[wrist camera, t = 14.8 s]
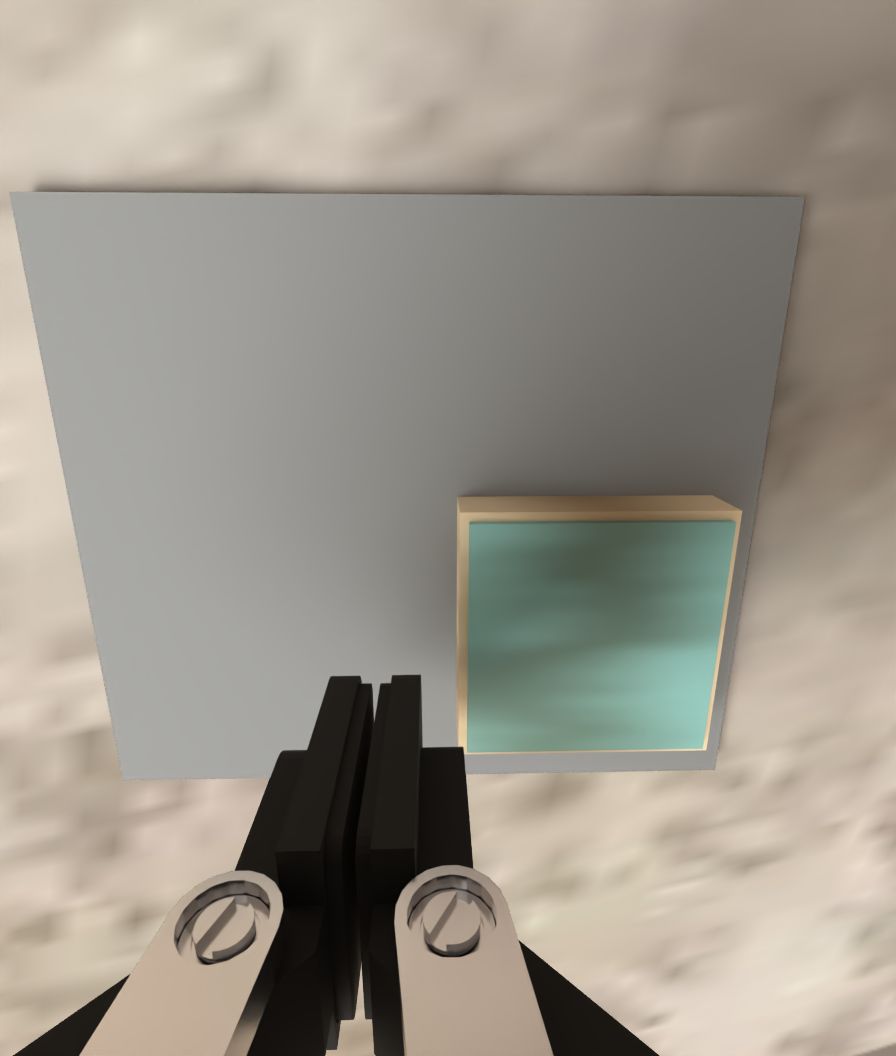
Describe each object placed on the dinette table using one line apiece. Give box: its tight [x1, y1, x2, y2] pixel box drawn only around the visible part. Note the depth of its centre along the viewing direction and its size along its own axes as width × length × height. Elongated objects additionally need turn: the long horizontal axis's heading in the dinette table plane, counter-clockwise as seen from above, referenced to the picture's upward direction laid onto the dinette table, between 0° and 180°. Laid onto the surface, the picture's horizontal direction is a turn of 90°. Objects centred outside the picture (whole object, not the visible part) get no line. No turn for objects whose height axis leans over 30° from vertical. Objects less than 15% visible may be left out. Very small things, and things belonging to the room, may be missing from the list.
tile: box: [456, 495, 742, 754], centre depth 14 cm, size 6×2×6 cm
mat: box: [9, 192, 805, 781], centre depth 14 cm, size 14×16×1 cm
